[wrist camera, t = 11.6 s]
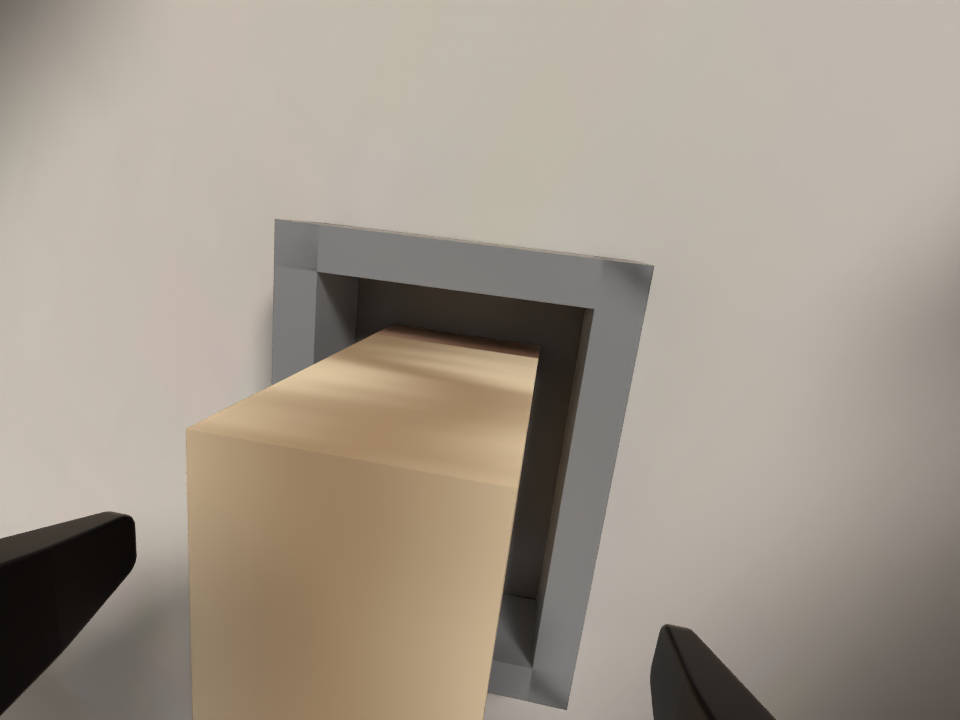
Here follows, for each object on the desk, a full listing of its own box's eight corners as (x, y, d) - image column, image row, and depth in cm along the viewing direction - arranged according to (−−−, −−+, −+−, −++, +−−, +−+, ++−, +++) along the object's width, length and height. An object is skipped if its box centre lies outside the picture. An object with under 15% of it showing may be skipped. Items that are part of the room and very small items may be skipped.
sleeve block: (377, 520, 15) (194, 806, 8) (393, 324, 14) (185, 428, 6) (509, 546, 15) (458, 877, 7) (540, 345, 13) (517, 488, 6)
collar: (325, 223, 13) (274, 219, 11) (635, 261, 12) (654, 265, 10) (310, 582, 16) (267, 642, 14) (564, 635, 15) (566, 710, 13)
